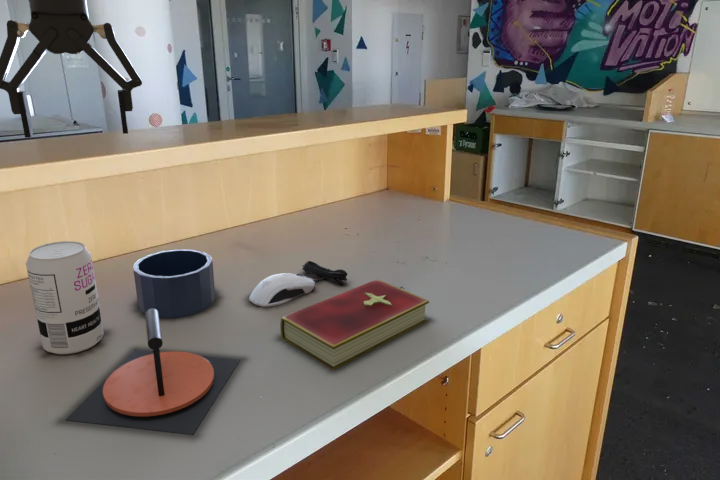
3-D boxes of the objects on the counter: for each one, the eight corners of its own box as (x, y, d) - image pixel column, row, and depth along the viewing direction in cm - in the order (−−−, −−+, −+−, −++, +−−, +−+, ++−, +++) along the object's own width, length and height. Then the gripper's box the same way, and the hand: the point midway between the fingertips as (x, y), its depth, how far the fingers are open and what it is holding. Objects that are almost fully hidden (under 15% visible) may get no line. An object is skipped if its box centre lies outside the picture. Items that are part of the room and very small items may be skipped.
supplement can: (45, 335, 84) (27, 243, 79) (104, 325, 87) (90, 237, 82) (40, 362, 77) (19, 264, 72) (104, 351, 80) (89, 255, 75)
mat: (65, 422, 66) (65, 419, 65) (135, 351, 80) (134, 349, 80) (193, 437, 64) (193, 434, 63) (240, 361, 78) (240, 359, 78)
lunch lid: (102, 432, 64) (90, 360, 60) (105, 369, 75) (95, 307, 72) (221, 406, 68) (216, 338, 65) (207, 351, 80) (202, 292, 77)
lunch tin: (139, 325, 88) (134, 282, 85) (137, 293, 99) (132, 254, 96) (220, 312, 92) (216, 271, 90) (209, 283, 103) (206, 245, 101)
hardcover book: (280, 339, 84) (279, 314, 83) (374, 298, 98) (375, 276, 97) (333, 371, 77) (333, 345, 75) (427, 322, 91) (429, 299, 89)
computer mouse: (237, 297, 98) (236, 277, 96) (314, 269, 110) (314, 251, 109) (272, 317, 91) (271, 295, 90) (349, 285, 104) (350, 265, 102)
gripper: (-56, -22, 71) (-20, 142, 78) (149, -12, 80) (164, 134, 87) (-41, -18, 78) (-10, 133, 85) (147, -9, 87) (161, 127, 94)
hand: (78, 134), depth 86 cm, fingers open, 13 cm apart
